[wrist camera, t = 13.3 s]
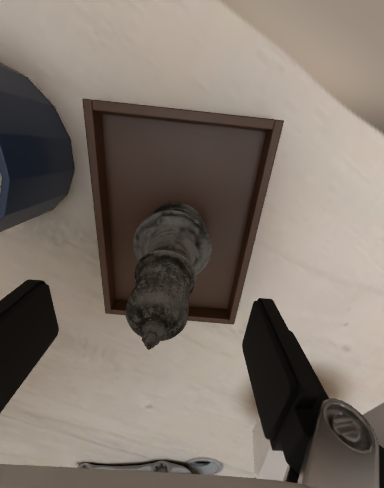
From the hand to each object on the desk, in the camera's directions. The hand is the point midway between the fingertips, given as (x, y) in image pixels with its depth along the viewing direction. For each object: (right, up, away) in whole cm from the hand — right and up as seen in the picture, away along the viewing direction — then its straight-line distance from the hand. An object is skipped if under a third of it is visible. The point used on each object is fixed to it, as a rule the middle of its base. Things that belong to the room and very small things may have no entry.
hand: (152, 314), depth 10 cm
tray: (0, +5, +9) cm, 11 cm away
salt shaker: (0, +4, +9) cm, 10 cm away
